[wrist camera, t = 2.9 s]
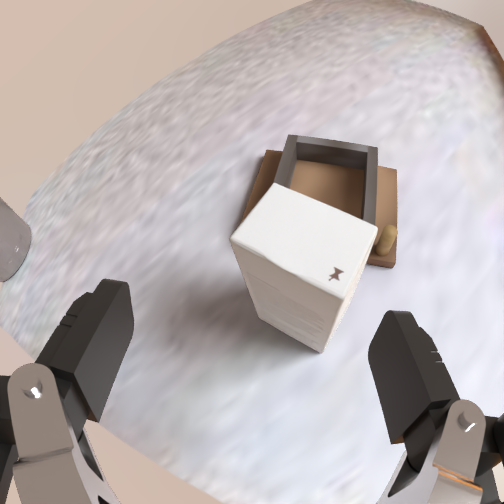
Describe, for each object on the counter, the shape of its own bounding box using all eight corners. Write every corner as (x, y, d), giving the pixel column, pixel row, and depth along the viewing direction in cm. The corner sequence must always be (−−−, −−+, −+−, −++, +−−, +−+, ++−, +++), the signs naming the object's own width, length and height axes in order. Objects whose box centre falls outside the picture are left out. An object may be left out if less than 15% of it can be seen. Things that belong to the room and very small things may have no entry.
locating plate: (238, 240, 28) (229, 214, 25) (267, 156, 33) (263, 128, 30) (392, 268, 25) (405, 245, 22) (394, 175, 30) (402, 148, 26)
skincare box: (347, 309, 24) (383, 227, 14) (321, 355, 22) (345, 304, 12) (283, 275, 26) (273, 178, 16) (255, 317, 25) (224, 240, 14)
